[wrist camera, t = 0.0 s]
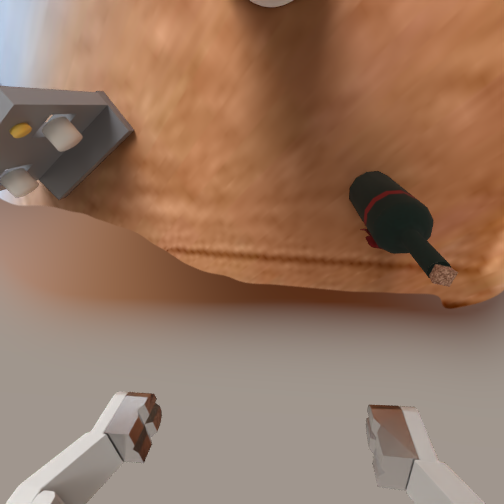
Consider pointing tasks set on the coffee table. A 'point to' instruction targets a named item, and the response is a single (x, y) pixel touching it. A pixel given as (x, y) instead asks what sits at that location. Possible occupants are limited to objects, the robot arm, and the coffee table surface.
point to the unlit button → (19, 182)
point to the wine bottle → (398, 223)
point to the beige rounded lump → (62, 133)
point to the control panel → (41, 149)
